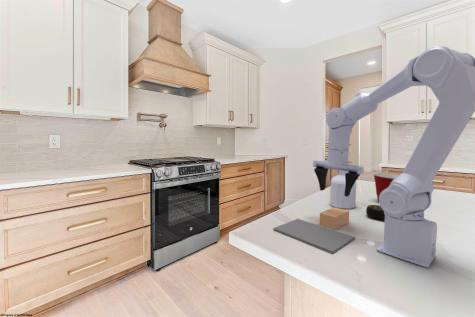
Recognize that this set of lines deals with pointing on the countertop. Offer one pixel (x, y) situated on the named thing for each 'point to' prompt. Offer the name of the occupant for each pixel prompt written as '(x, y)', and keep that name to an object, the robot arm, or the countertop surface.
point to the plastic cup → (383, 181)
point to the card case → (334, 218)
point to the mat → (315, 235)
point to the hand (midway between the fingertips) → (334, 192)
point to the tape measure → (375, 212)
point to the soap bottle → (342, 192)
